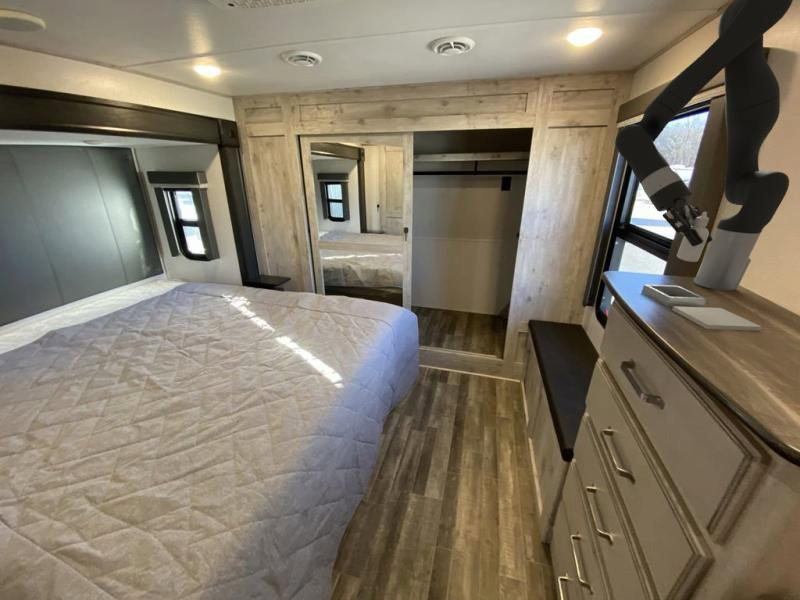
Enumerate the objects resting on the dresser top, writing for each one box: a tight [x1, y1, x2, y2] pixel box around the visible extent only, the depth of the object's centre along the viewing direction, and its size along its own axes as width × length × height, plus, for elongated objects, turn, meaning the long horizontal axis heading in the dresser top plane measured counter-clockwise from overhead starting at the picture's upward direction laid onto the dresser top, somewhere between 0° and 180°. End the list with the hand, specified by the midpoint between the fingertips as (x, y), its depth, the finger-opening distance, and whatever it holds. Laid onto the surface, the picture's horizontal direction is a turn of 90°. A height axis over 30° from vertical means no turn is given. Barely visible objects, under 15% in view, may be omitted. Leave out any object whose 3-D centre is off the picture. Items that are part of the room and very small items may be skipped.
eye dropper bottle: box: [676, 211, 710, 263], centre depth 80 cm, size 4×6×12 cm
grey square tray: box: [641, 284, 708, 308], centre depth 86 cm, size 10×10×2 cm
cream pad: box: [671, 306, 762, 332], centre depth 75 cm, size 12×10×1 cm
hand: (703, 243), depth 79 cm, fingers closed on eye dropper bottle, 4 cm apart
